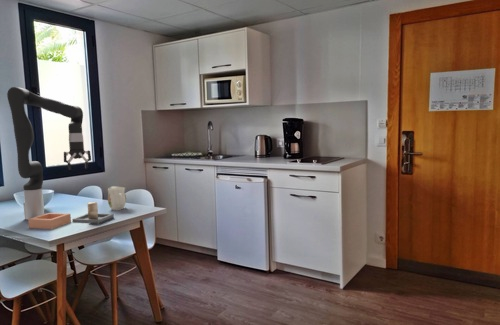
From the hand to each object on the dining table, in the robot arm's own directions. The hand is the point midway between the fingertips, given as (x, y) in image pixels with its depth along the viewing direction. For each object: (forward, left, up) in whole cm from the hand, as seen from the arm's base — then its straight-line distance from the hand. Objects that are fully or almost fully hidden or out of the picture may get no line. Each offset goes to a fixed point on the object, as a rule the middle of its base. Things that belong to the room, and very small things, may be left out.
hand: (78, 168), depth 217 cm
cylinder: (+14, -8, -27) cm, 31 cm away
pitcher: (+11, +20, -28) cm, 36 cm away
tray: (+14, -8, -28) cm, 32 cm away
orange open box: (-2, -22, -28) cm, 36 cm away
